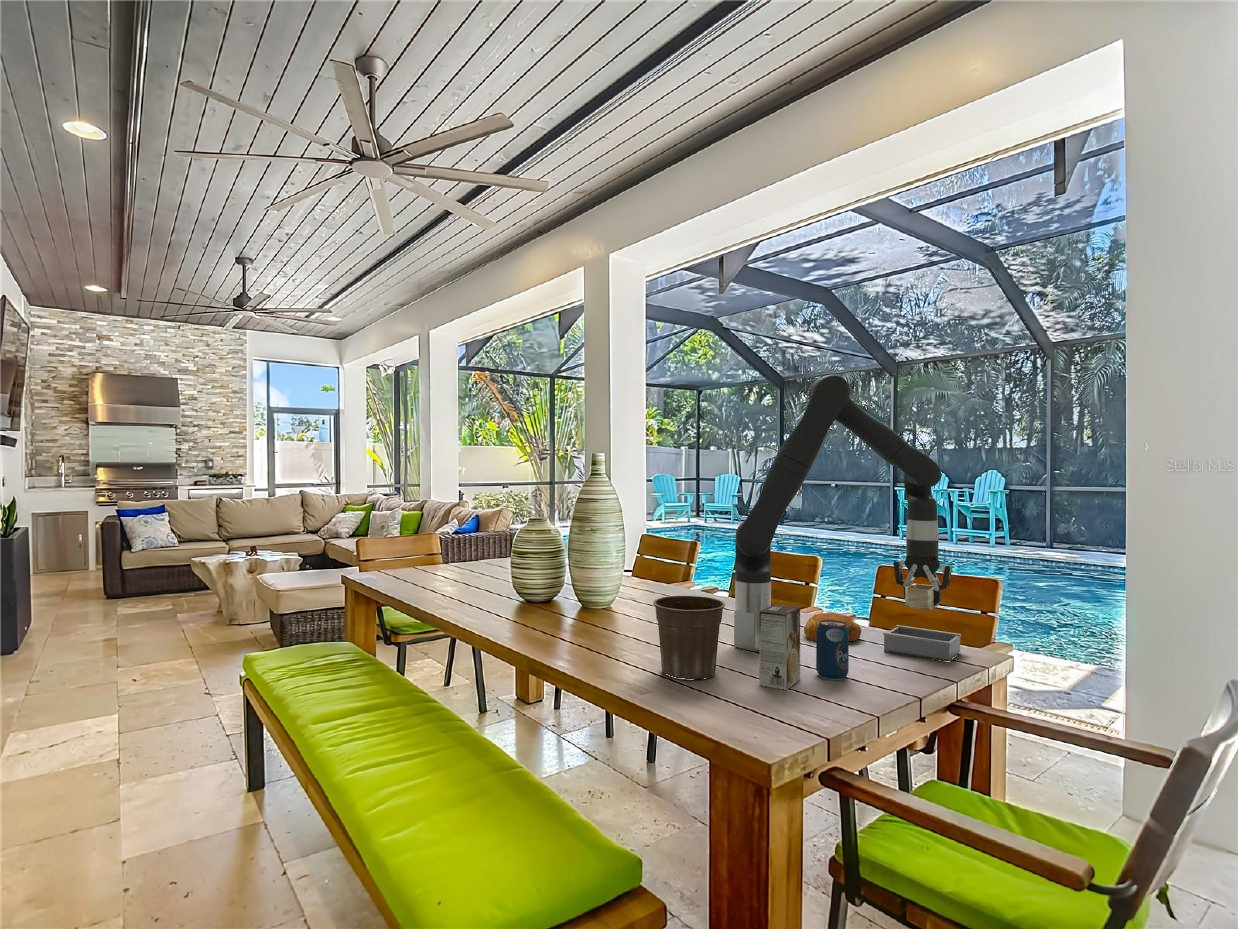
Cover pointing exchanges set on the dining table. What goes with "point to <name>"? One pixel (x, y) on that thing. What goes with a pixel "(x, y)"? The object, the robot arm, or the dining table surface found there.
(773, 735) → the dining table surface
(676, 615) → the plant pot
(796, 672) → the coffee box
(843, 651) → the soda can
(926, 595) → the small crate
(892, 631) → the box
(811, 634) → the croissant
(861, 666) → the dining table surface
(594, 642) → the dining table surface
